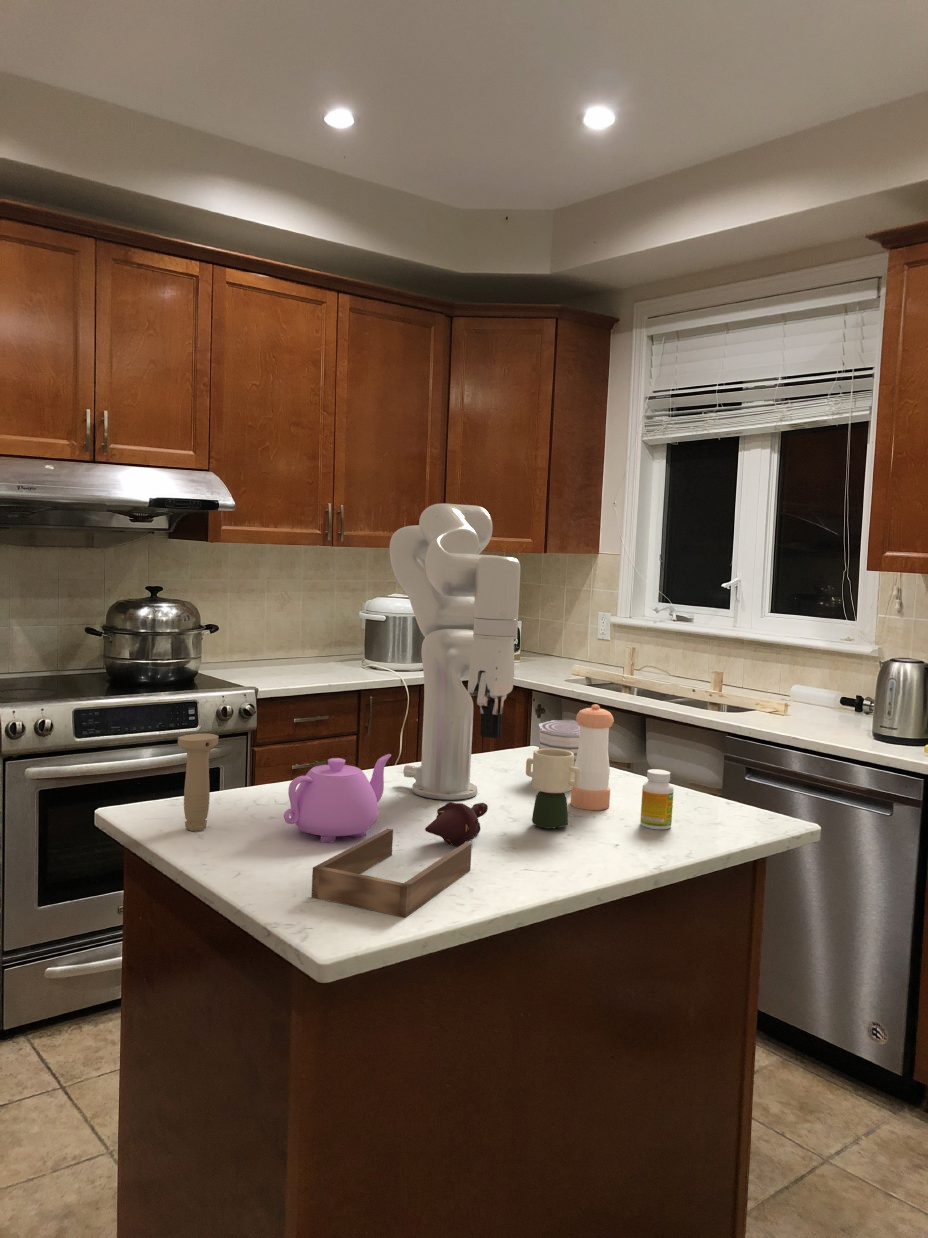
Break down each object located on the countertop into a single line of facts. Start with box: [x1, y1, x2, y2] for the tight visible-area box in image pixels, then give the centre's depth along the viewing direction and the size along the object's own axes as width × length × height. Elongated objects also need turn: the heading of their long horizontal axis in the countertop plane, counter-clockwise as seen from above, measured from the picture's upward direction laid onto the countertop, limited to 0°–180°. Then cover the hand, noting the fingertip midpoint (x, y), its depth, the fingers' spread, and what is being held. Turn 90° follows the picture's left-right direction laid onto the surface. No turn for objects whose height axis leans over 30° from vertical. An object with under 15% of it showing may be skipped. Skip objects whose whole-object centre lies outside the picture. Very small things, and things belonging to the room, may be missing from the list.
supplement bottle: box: [639, 768, 674, 830], centre depth 169 cm, size 5×5×10 cm
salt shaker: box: [570, 703, 615, 811], centre depth 180 cm, size 7×7×19 cm
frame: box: [311, 827, 473, 918], centre depth 134 cm, size 14×21×4 cm, turn 157°
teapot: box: [283, 753, 392, 844], centre depth 156 cm, size 20×14×12 cm
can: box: [538, 719, 580, 766], centre depth 198 cm, size 11×11×12 cm
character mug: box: [525, 748, 581, 829], centre depth 165 cm, size 11×7×13 cm, turn 52°
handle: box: [177, 732, 219, 832], centre depth 154 cm, size 5×6×15 cm
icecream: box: [424, 801, 489, 848], centre depth 153 cm, size 7×7×15 cm
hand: (490, 736), depth 163 cm, fingers closed
